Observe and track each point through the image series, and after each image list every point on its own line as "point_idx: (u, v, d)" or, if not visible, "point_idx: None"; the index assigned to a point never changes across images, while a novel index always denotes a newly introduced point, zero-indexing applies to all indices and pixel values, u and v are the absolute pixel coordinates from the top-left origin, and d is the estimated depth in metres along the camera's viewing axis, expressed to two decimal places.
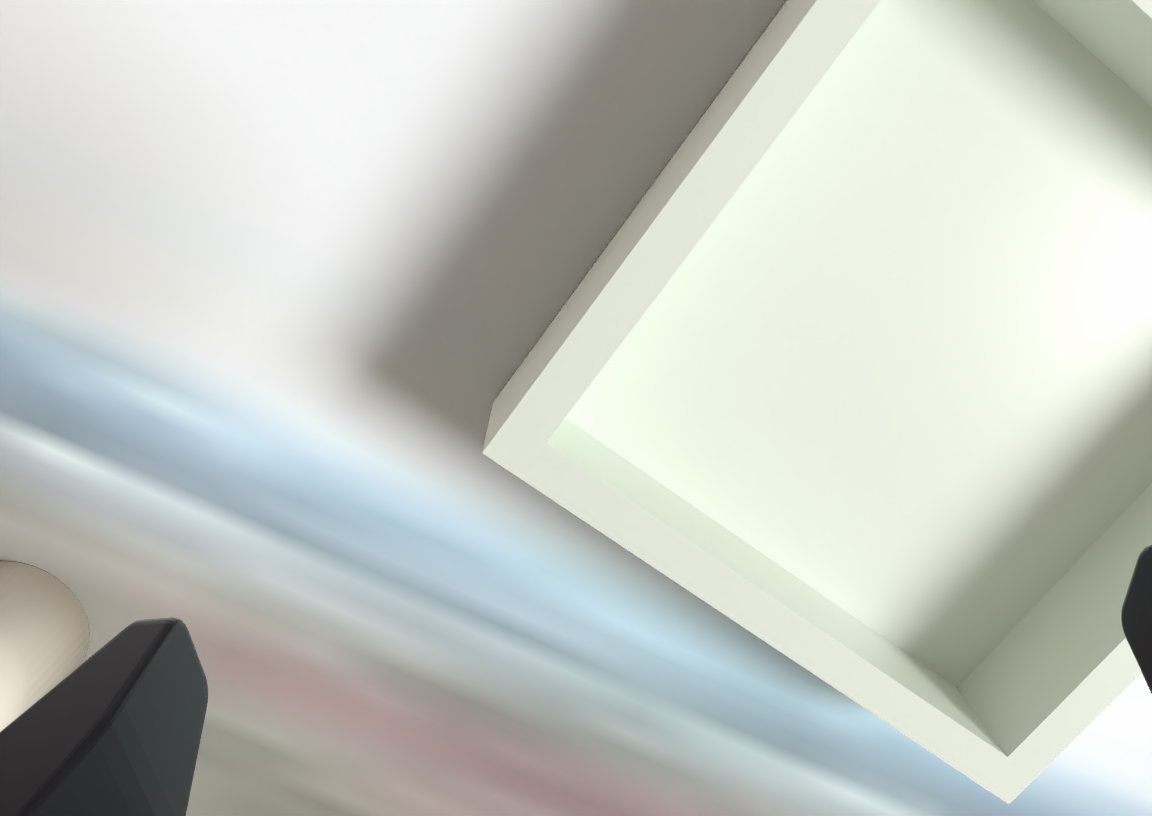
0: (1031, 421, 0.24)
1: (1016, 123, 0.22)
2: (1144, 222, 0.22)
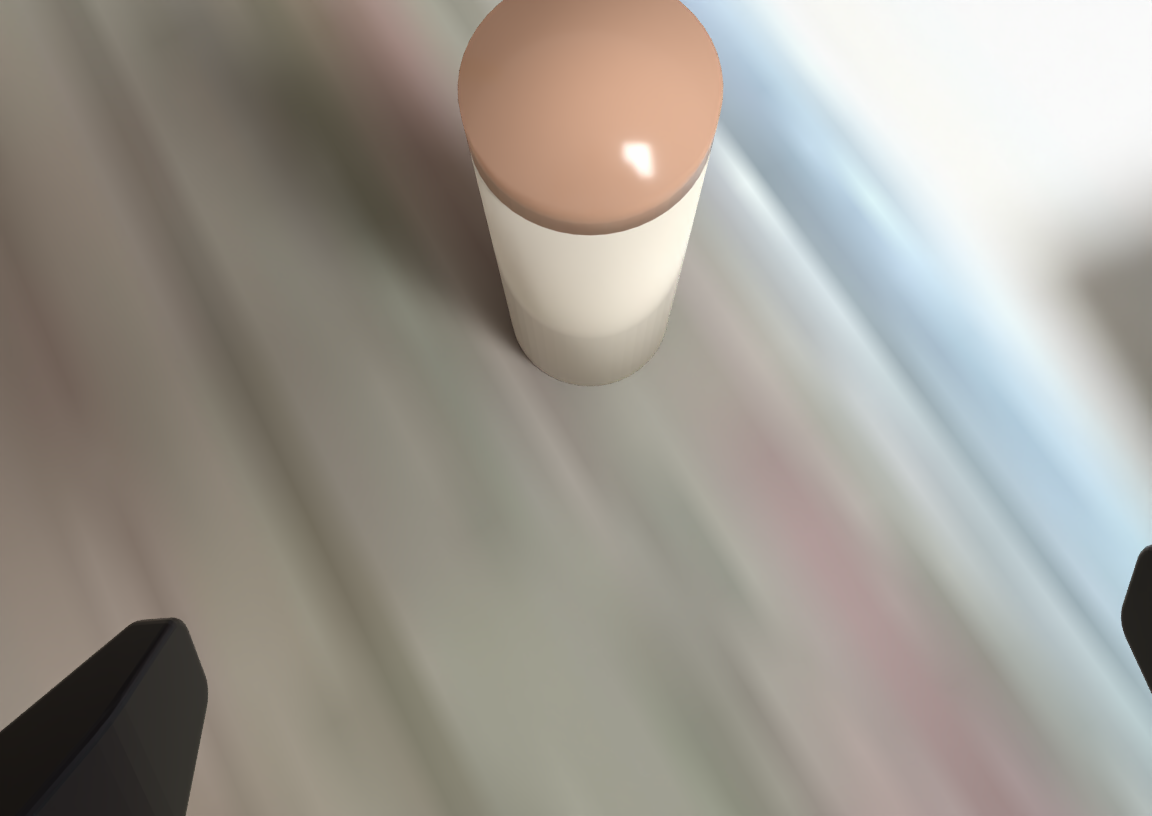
0: None
1: None
2: None
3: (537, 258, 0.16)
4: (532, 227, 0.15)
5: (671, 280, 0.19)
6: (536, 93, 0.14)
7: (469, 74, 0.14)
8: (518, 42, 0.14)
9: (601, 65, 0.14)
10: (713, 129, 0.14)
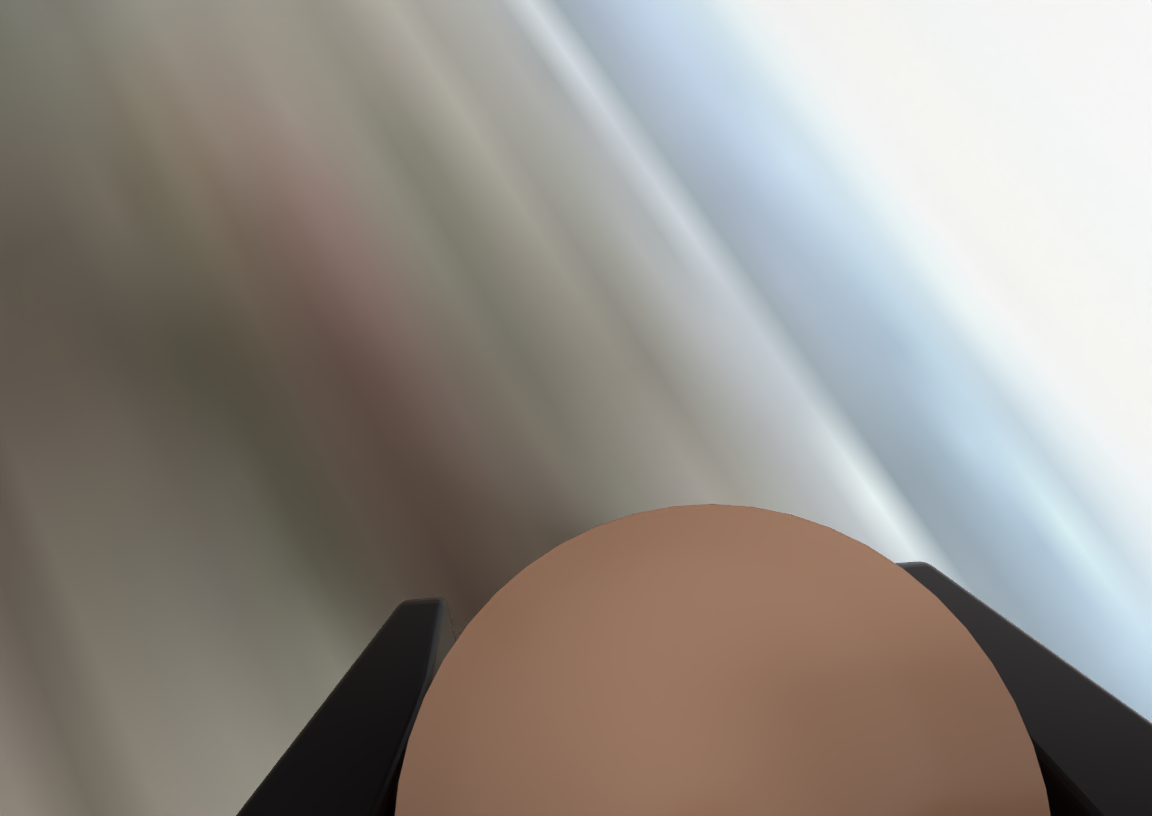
0: None
1: None
2: None
3: None
4: None
5: None
6: None
7: (422, 797, 0.06)
8: (543, 705, 0.06)
9: (747, 773, 0.06)
10: None
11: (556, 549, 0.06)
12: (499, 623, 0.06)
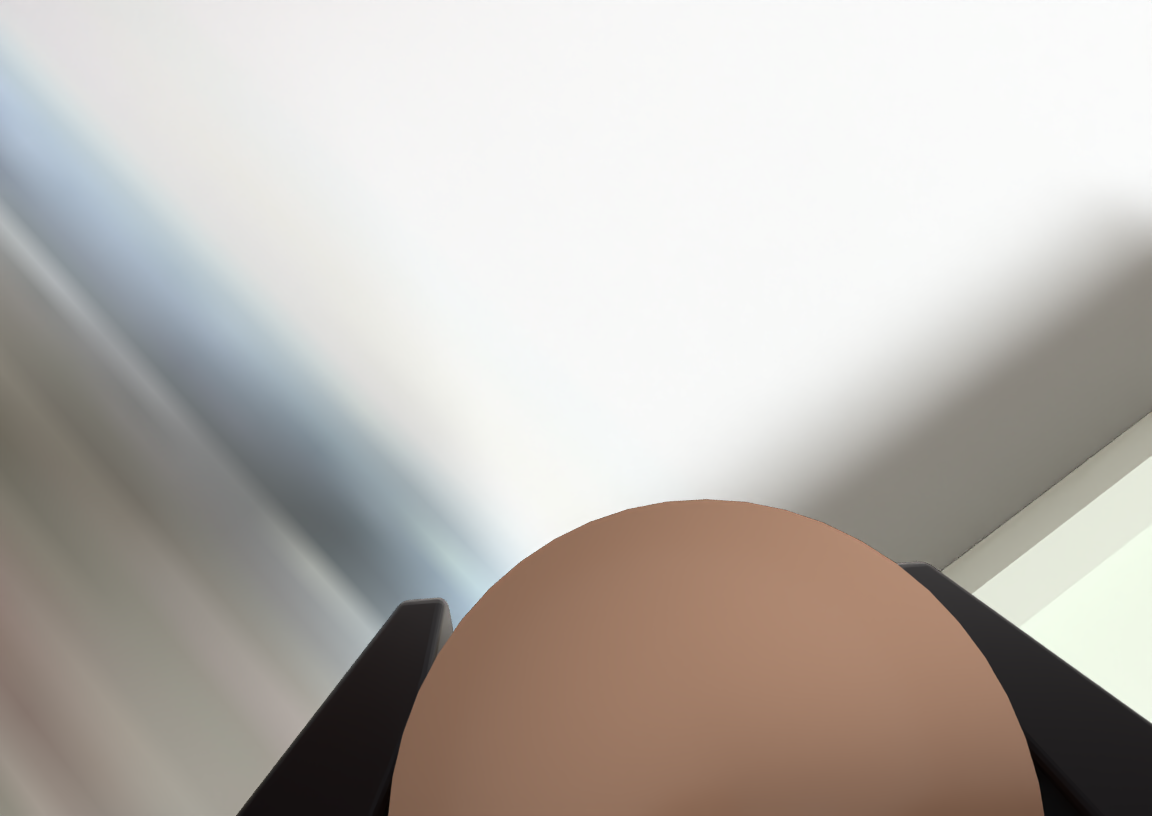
0: None
1: None
2: None
3: None
4: None
5: None
6: None
7: (416, 791, 0.06)
8: (536, 700, 0.06)
9: (741, 768, 0.06)
10: None
11: (550, 545, 0.06)
12: (493, 618, 0.06)
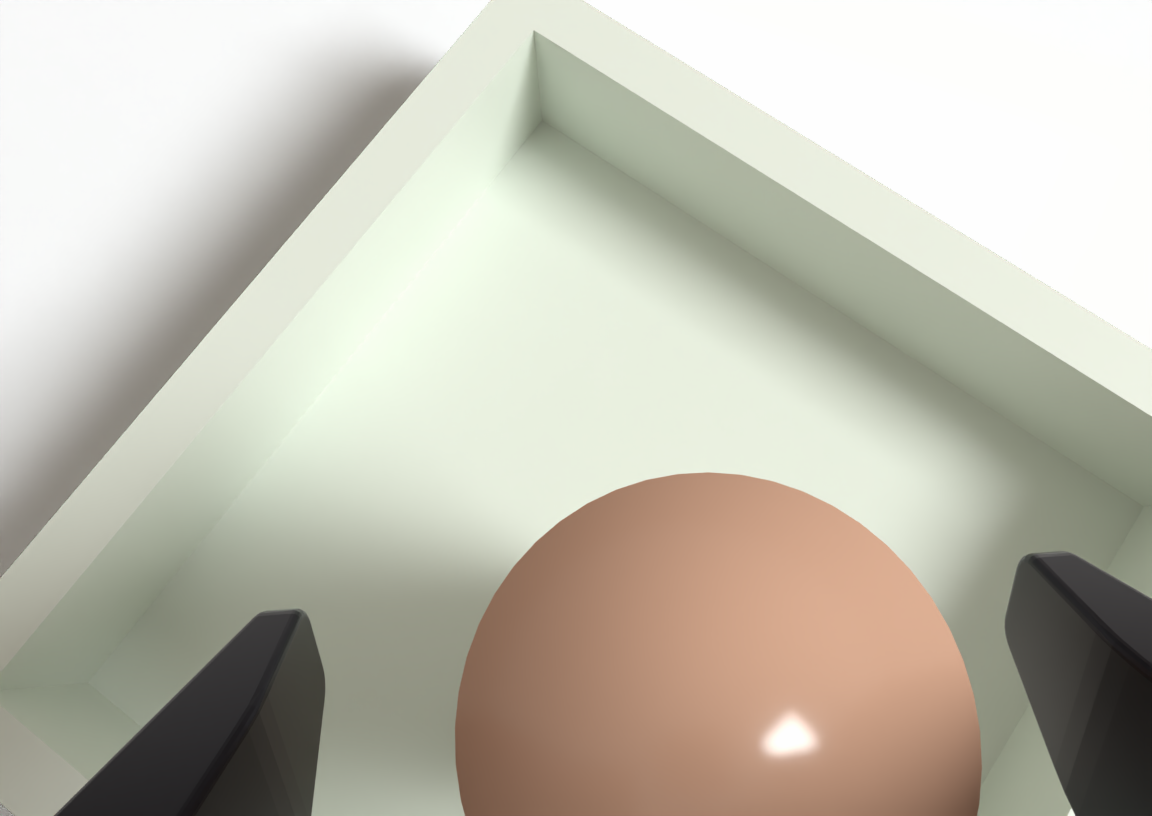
0: None
1: (676, 326, 0.18)
2: (859, 436, 0.18)
3: None
4: None
5: None
6: (613, 746, 0.07)
7: (478, 701, 0.07)
8: (574, 629, 0.07)
9: (738, 683, 0.07)
10: None
11: (583, 508, 0.08)
12: (539, 565, 0.07)
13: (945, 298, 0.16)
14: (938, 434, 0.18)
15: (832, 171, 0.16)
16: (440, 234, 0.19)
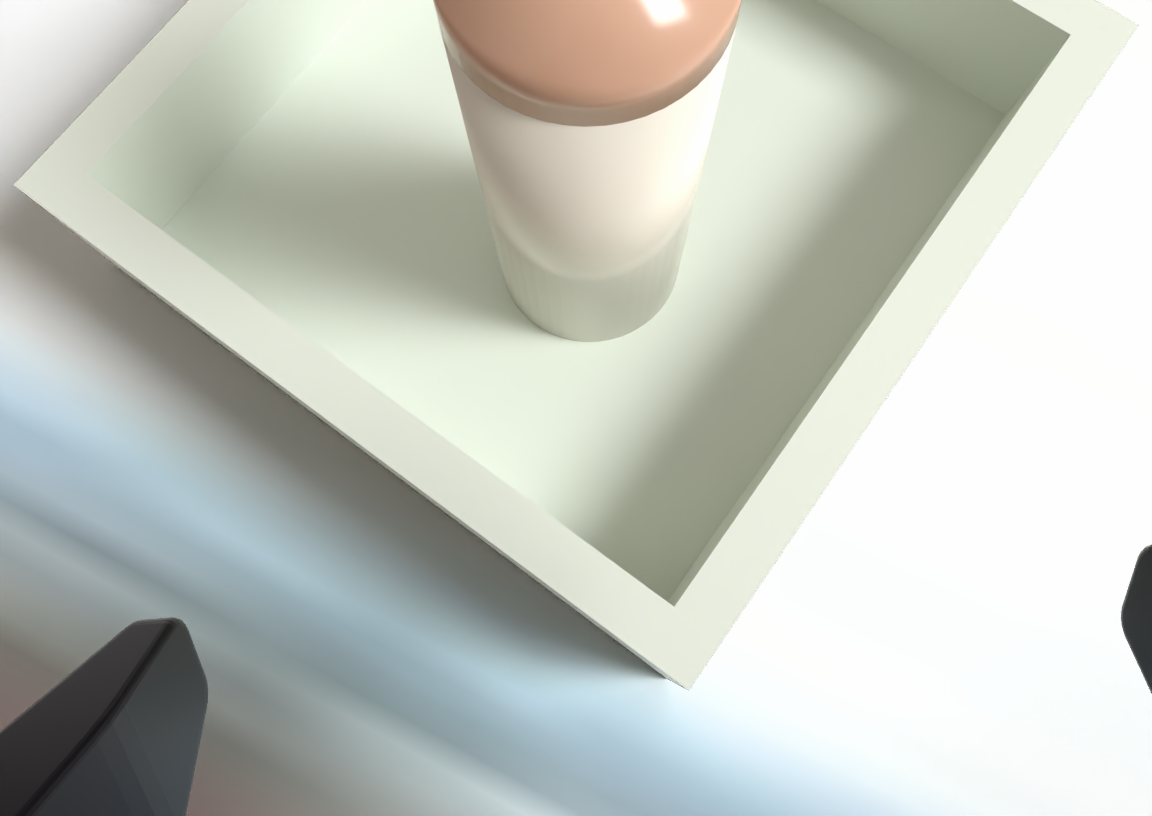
0: (698, 259, 0.21)
1: None
2: (778, 62, 0.22)
3: (522, 163, 0.13)
4: (513, 117, 0.12)
5: (683, 207, 0.16)
6: None
7: None
8: None
9: None
10: None
11: None
12: None
13: None
14: (842, 61, 0.22)
15: None
16: None
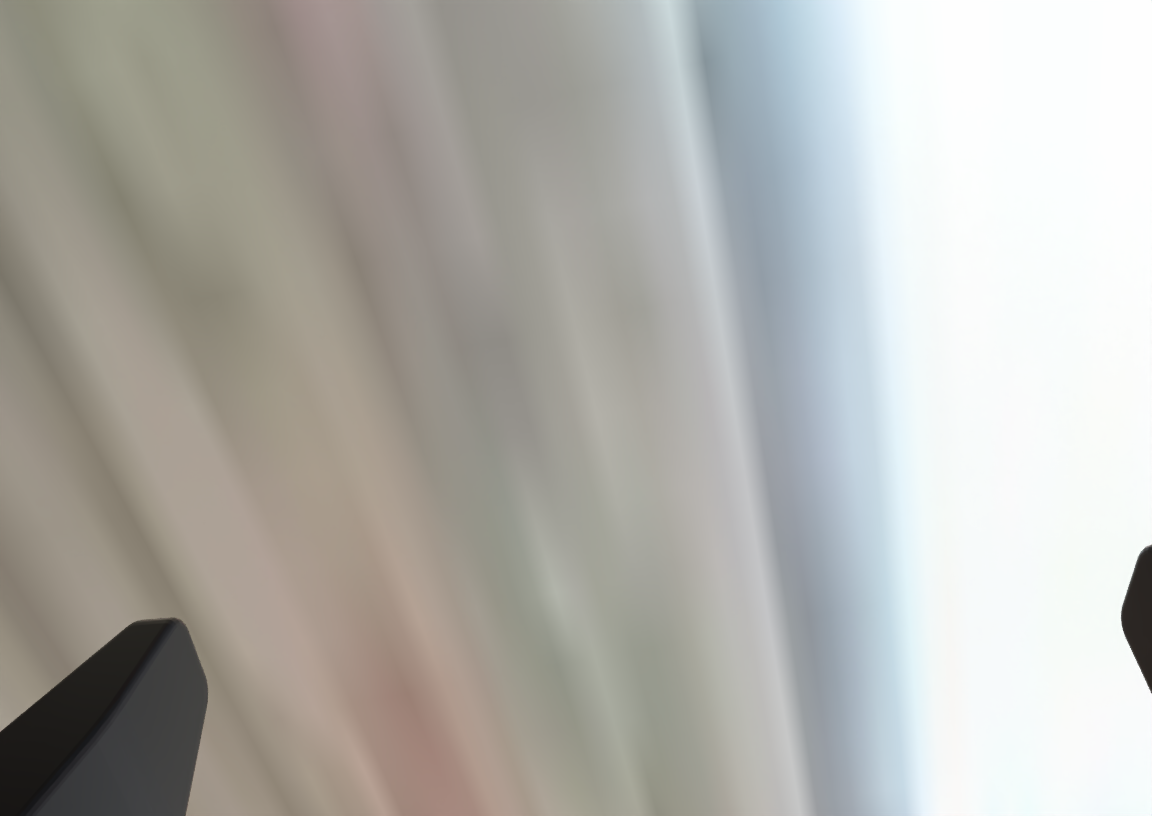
0: None
1: None
2: None
3: None
4: None
5: None
6: None
7: None
8: None
9: None
10: None
11: None
12: None
13: None
14: None
15: None
16: None
